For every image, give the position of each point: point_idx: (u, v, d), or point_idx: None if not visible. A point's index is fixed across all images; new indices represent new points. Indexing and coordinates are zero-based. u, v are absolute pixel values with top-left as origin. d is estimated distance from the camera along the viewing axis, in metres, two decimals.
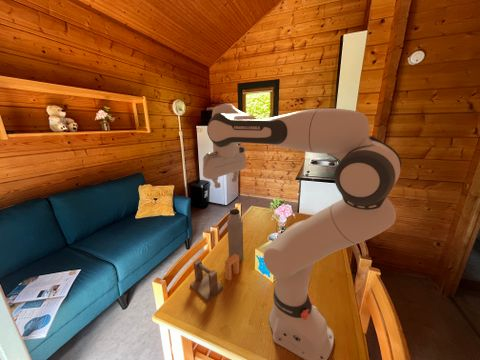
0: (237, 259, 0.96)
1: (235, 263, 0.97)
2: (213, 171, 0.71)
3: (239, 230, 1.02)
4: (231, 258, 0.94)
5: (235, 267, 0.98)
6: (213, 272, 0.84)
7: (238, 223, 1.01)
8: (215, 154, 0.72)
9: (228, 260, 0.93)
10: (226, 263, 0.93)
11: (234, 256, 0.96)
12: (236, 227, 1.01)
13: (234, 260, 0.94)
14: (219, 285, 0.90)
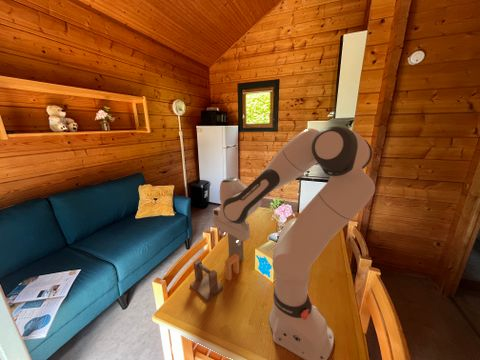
0: (237, 259, 0.96)
1: (235, 263, 0.97)
2: None
3: None
4: (231, 258, 0.94)
5: (235, 267, 0.98)
6: (213, 272, 0.84)
7: None
8: None
9: (228, 260, 0.93)
10: (226, 263, 0.93)
11: (234, 256, 0.96)
12: None
13: (234, 260, 0.94)
14: (219, 285, 0.90)
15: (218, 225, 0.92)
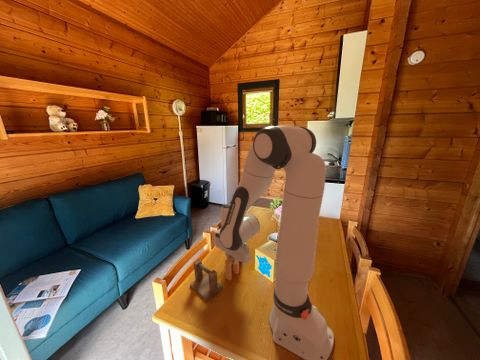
0: None
1: None
2: None
3: None
4: (231, 258, 0.94)
5: (235, 267, 0.98)
6: (213, 272, 0.84)
7: None
8: None
9: (228, 260, 0.93)
10: (226, 263, 0.93)
11: None
12: None
13: None
14: (219, 285, 0.90)
15: (220, 246, 0.96)
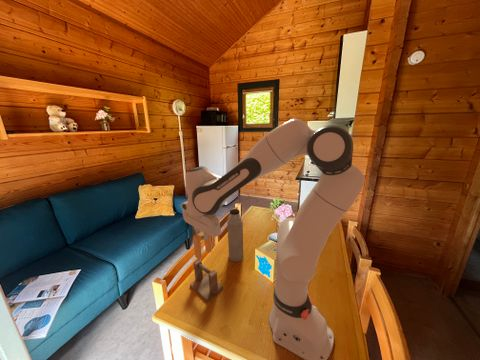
0: (208, 235, 0.84)
1: (206, 240, 0.85)
2: None
3: (239, 230, 1.02)
4: (201, 233, 0.82)
5: (207, 245, 0.86)
6: (213, 272, 0.84)
7: (238, 223, 1.01)
8: None
9: (197, 235, 0.81)
10: (194, 239, 0.80)
11: None
12: (236, 227, 1.01)
13: None
14: (219, 285, 0.90)
15: (188, 221, 0.84)
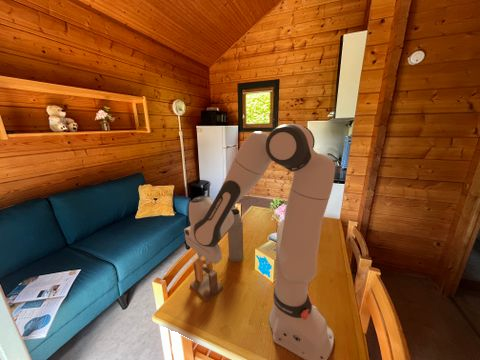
0: None
1: None
2: None
3: (239, 230, 1.02)
4: (203, 258, 0.86)
5: (208, 268, 0.89)
6: (213, 272, 0.84)
7: (238, 223, 1.01)
8: None
9: (199, 260, 0.85)
10: (196, 263, 0.84)
11: None
12: (236, 227, 1.01)
13: None
14: (219, 285, 0.90)
15: (191, 245, 0.88)
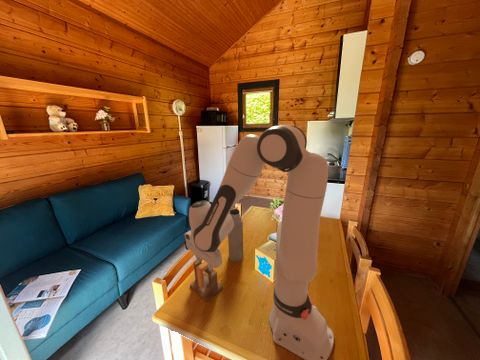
0: None
1: None
2: None
3: (239, 230, 1.02)
4: (203, 264, 0.87)
5: None
6: (213, 272, 0.84)
7: (238, 223, 1.01)
8: None
9: (200, 266, 0.86)
10: (197, 270, 0.85)
11: None
12: (236, 227, 1.01)
13: None
14: (219, 285, 0.90)
15: (191, 249, 0.88)
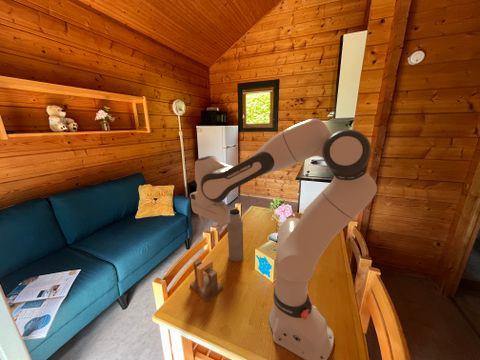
0: (210, 265, 0.89)
1: (209, 269, 0.90)
2: None
3: (239, 230, 1.02)
4: (203, 264, 0.87)
5: None
6: (213, 272, 0.84)
7: (238, 223, 1.01)
8: None
9: (200, 266, 0.86)
10: (197, 270, 0.85)
11: (207, 262, 0.88)
12: (236, 227, 1.01)
13: (207, 266, 0.87)
14: (219, 285, 0.90)
15: (197, 211, 0.85)
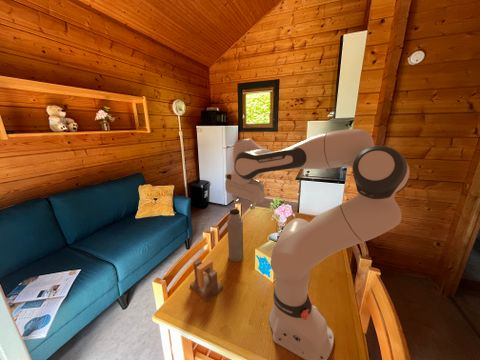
0: (210, 265, 0.89)
1: (209, 269, 0.90)
2: None
3: (239, 230, 1.02)
4: (203, 264, 0.87)
5: None
6: (213, 272, 0.84)
7: (238, 223, 1.01)
8: None
9: (200, 266, 0.86)
10: (197, 270, 0.85)
11: (207, 262, 0.88)
12: (236, 227, 1.01)
13: (207, 266, 0.87)
14: (219, 285, 0.90)
15: (231, 191, 0.91)
